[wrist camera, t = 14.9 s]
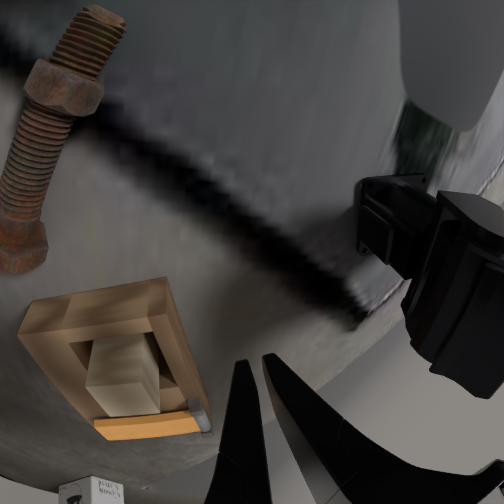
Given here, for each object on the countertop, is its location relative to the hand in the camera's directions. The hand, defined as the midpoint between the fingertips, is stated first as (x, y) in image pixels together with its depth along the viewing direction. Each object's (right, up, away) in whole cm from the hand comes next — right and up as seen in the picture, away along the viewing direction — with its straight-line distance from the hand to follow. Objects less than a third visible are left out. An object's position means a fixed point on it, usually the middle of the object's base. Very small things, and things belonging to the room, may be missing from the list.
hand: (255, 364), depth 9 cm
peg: (-10, -3, +13) cm, 17 cm away
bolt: (-12, +11, +5) cm, 17 cm away
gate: (-9, -12, +14) cm, 20 cm away
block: (-11, -6, +15) cm, 20 cm away
